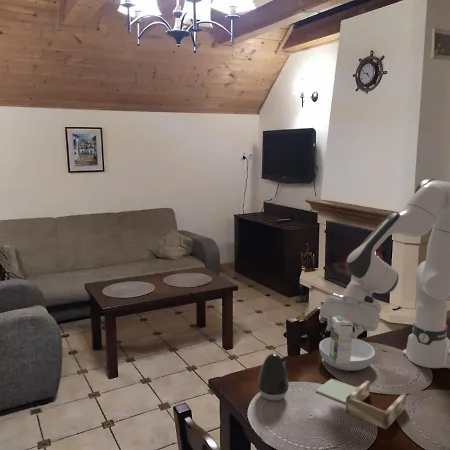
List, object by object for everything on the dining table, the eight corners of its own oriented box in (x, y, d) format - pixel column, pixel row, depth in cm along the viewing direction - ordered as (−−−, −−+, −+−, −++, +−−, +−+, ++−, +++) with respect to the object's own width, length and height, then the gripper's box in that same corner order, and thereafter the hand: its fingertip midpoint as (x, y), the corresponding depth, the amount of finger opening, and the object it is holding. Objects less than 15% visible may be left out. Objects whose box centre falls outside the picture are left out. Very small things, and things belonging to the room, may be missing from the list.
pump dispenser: (292, 403, 151) (294, 360, 148) (262, 406, 149) (263, 362, 146) (283, 387, 161) (284, 346, 158) (254, 389, 159) (255, 348, 156)
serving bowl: (311, 369, 174) (312, 352, 173) (326, 348, 192) (327, 332, 191) (367, 383, 164) (369, 365, 163) (378, 359, 183) (379, 343, 181)
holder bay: (365, 393, 157) (366, 380, 156) (404, 408, 148) (406, 394, 148) (345, 411, 146) (346, 397, 146) (386, 429, 138) (387, 414, 137)
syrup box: (328, 356, 159) (330, 316, 156) (345, 355, 160) (347, 316, 157) (333, 363, 153) (336, 322, 151) (351, 363, 154) (353, 322, 151)
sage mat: (331, 379, 166) (331, 378, 166) (360, 390, 159) (360, 389, 159) (315, 391, 158) (315, 390, 158) (345, 403, 151) (345, 402, 151)
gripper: (326, 288, 165) (310, 321, 159) (381, 301, 151) (366, 338, 146) (331, 296, 169) (316, 329, 163) (386, 310, 155) (371, 347, 150)
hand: (340, 334), depth 154 cm, fingers closed on syrup box, 8 cm apart
